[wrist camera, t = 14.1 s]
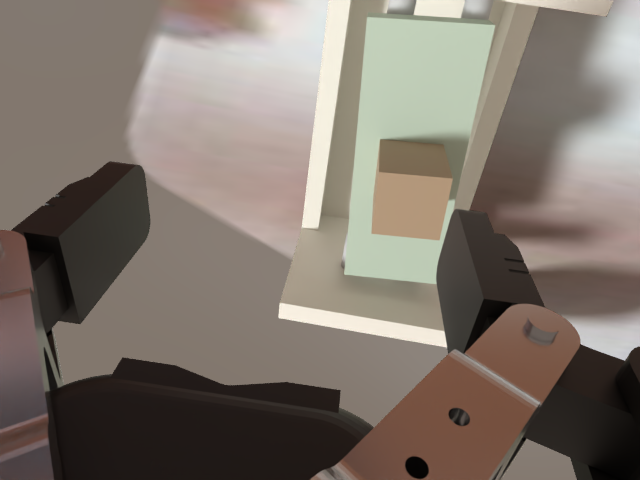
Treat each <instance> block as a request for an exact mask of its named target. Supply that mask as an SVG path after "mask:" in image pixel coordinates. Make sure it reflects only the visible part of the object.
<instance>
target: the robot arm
mask: <svg viewBox="0 0 640 480" xmlns="http://www.w3.org/2000/svg"><path fill="white" fill-rule="evenodd" d="M149 227H150V213H149V205H148V197H147V188H146V181H145V173H144V170H143V168H142V167H141V166H140V165H134V164H126V163H119V162H108V163H107V164H105V165H104V166H103V167H102V168H100V169H99V170H98V171H97V172H96V173H94V174H93V175H92V176H91V177H87V178H84V179H82V180H79V181H77V182H74V183H72V184H69V185H68V186H67V187H65V188H64V189H63V190H61V191H60V192H59V193H58V194H56V197H53V198H51V199H50V200H49V201H48V202H46V203H45V206H41V207H40V208H39V209H37V210H36V211H35V212H34V213H32V214H31V215H30V216H28V217H27V218H26V219H25V220H23V221H22V222H21V223H20V224H18V225H17V226H16V227H15V228H13V229H12V230H0V480H502V478H503V476H504V475H505V473H506V472H507V470H508V469H509V467H510V466H511V464H512V462H513V461H514V459H515V458H516V456H517V455H518V453H519V451H520V450H521V448H522V447H523V445H524V444H525V442H526V441H527V439H529V440H531V441H534V442H536V443H538V444H541V445H543V446H545V447H548V448H550V449H552V450H554V451H557V452H559V453H561V454H564V455H566V456H568V457H570V458H571V461H572V465H573V468H574V472H575V475H576V478H577V480H640V347H637V348H634V349H633V350H632V351H631V353H630V354H629V356H628V357H627V359H626V360H625V361H624V360H621V359H618V358H615V357H613V356H610V355H607V354H604V353H601V352H599V351H596V350H593V349H590V348H588V347H586V346H583V345H581V344H580V337H579V334H578V332H577V331H576V329H575V328H574V327H573V326H572V324H571V323H570V322H568V321H567V320H566V319H565V318H563V317H562V316H561V315H559V314H557V313H555V312H554V311H551V310H549V309H547V308H545V306H544V304H543V302H542V300H541V297H540V295H539V293H538V291H537V289H536V286H535V284H534V282H533V280H532V277H531V275H529V271H528V269H527V266H526V264H525V263H524V260H523V258H522V255H521V253H520V251H519V249H518V247H517V246H516V245H515V244H514V243H513V242H512V241H510V240H509V239H508V238H507V237H506V236H505V235H503V234H496V233H494V231H493V229H492V226H491V224H490V221H489V219H488V216H487V214H486V213H484V212H477V211H469V210H462V209H455V210H454V211H453V213H452V215H451V218H450V222H449V225H448V229H447V232H446V235H445V239H444V242H443V246H442V249H441V253H440V256H439V260H438V265H437V272H436V283H437V289H438V295H439V301H440V307H441V313H442V319H443V325H444V331H445V337H446V343H447V349H448V355H447V356H446V357H445V358H444V359H443V360H442V361H441V362H440V363H439V364H438V365H437V366H436V367H435V368H434V369H433V370H432V371H431V372H430V373H429V374H428V375H427V376H426V377H425V378H424V379H423V380H422V381H421V382H420V383H419V384H418V385H417V386H416V387H415V388H414V389H413V390H412V391H411V392H410V393H409V394H408V395H407V396H405V398H403V399H402V400H401V401H400V403H399V404H398V405H396V407H395V408H393V409H392V410H391V411H390V412H389V413H388V414H387V415H386V416H385V417H384V418H383V419H382V420H381V421H380V422H379V423H378V424H377V425H376V426H375V427H373V426H372V425H370V424H369V423H367V422H366V421H364V420H363V419H361V418H360V417H358V416H356V415H354V414H352V413H350V412H348V411H346V410H344V409H341V408H339V402H340V390H334V389H328V388H321V387H315V386H308V385H302V384H295V383H288V382H281V383H265V384H249V385H233V386H232V385H231V386H230V385H224V384H220V383H218V382H215V381H213V380H210V379H208V378H205V377H203V376H200V375H198V374H195V373H193V372H190V371H188V370H185V369H183V368H180V367H178V366H175V365H168V364H162V363H155V362H149V361H142V360H136V359H129V358H122V359H121V361H120V362H119V364H118V366H117V367H116V369H115V371H114V372H113V374H110V375H101V376H95V377H90V378H86V379H82V380H78V381H75V382H72V383H69V384H66V385H64V382H63V377H62V372H61V367H60V362H59V356H58V351H57V345H56V340H55V336H54V332H53V329H52V327H53V326H54V325H55V324H56V323H57V322H58V321H63V322H69V323H76V324H81V323H82V321H83V320H84V319H85V318H86V316H87V315H88V314H89V312H90V311H91V310H92V309H93V307H94V306H95V305H96V303H97V302H98V301H99V300H100V298H101V297H102V295H103V294H104V293H105V292H106V291H107V289H108V288H109V287H110V285H111V284H112V283H113V282H114V280H115V279H116V278H117V276H118V275H119V274H120V273H121V271H122V270H123V269H124V267H125V266H126V265H127V264H128V262H129V261H130V260H131V258H132V257H133V256H134V255H135V253H136V252H137V251H138V249H139V248H140V247H141V246H142V244H143V243H144V242H145V240H146V238H147V236H148V233H149V229H150V228H149Z"/></svg>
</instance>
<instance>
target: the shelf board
mask: <svg viewBox="0 0 640 480" xmlns="http://www.w3.org/2000/svg"><path fill="white" fill-rule="evenodd" d="M494 29H495V25H494V24H493V23H492V22H491V21H489V20H483V19H467V18H451V17H435V16H419V15H403V14H387V13H371V12H368V15H367V23H366V34H365V46H364V57H363V68H362V79H361V91H360V102H359V113H358V124H357V136H356V147H355V158H354V169H353V181H352V192H351V203H350V214H349V226H348V237H347V248H346V259H345V271H344V275H354V276H363V277H373V278H382V279H391V280H401V281H410V282H420V283H429V284H437V283H436V272H437V265H438V260H439V256H440V253H441V249H442V246H443V242H444V239H445V235H446V232H447V229H448V225H449V222H450V218H451V215H452V213H453V209H454V205H455V200H456V196H457V192H458V187H459V183H460V178H461V174H462V170H463V165H464V161H465V156H466V152H467V148H468V143H469V139H470V134H471V130H472V126H473V121H474V117H475V112H476V108H477V104H478V99H479V95H480V90H481V86H482V82H483V77H484V73H485V69H486V64H487V60H488V55H489V51H490V47H491V42H492V38H493V33H494Z"/></svg>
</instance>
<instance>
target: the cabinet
mask: <svg viewBox="0 0 640 480" xmlns="http://www.w3.org/2000/svg"><path fill="white" fill-rule="evenodd" d="M612 3H613V0H329V3H328V11H327V19H326V28H325V36H324V45H323V53H322V62H321V70H320V79H319V87H318V95H317V104H316V112H315V121H314V129H313V138H312V146H311V154H310V163H309V171H308V180H307V188H306V197H305V205H304V213H303V222H302V229H301V232H300V236H299V239H298V243H297V246H296V249H295V253H294V256H293V260H292V263H291V267H290V270H289V274H288V277H287V281H286V284H285V287H284V291H283V294H282V297H281V301H280V307H279V317H278V318H282V319H288V320H293V321H299V322H306V323H311V324H316V325H322V326H328V327H333V328H339V329H345V330H351V331H356V332H362V333H368V334H374V335H379V336H385V337H391V338H397V339H403V340H408V341H414V342H420V343H425V344H431V345H437V346H442V347H447V343H446V337H445V331H444V325H443V319H442V313H441V307H440V301H439V295H438V289H437V284H429V283H420V282H410V281H401V280H391V279H382V278H373V277H363V276H354V275H344V271H345V259H346V248H347V237H348V226H349V214H350V203H351V192H352V181H353V169H354V158H355V147H356V136H357V124H358V113H359V102H360V91H361V79H362V68H363V57H364V46H365V34H366V23H367V15H368V12H371V13H387V14H403V15H419V16H435V17H451V18H467V19H483V20H489V21H491V22H492V23H493V24H494V25H495V29H494V33H493V38H492V42H491V47H490V51H489V55H488V60H487V64H486V69H485V73H484V77H483V82H482V86H481V90H480V95H479V99H478V104H477V108H476V112H475V117H474V121H473V126H472V130H471V134H470V139H469V143H468V148H467V152H466V156H465V161H464V165H463V170H462V174H461V178H460V183H459V187H458V192H457V196H456V200H455V205H454V209H453V211H454V210H455V209H462V210H469V209H470V206H471V203H472V201H473V198H474V195H475V192H476V189H477V186H478V183H479V180H480V177H481V174H482V172H483V169H484V166H485V163H486V160H487V157H488V154H489V151H490V148H491V145H492V143H493V140H494V137H495V134H496V131H497V128H498V125H499V122H500V119H501V116H502V114H503V111H504V108H505V105H506V102H507V99H508V96H509V93H510V90H511V87H512V85H513V82H514V79H515V76H516V73H517V70H518V67H519V64H520V61H521V58H522V56H523V53H524V50H525V47H526V44H527V41H528V38H529V35H530V32H531V29H532V27H533V24H534V21H535V18H536V15H537V12H538V9H539V7H546V8H552V9H559V10H566V11H573V12H579V13H586V14H593V15H599V16H606V17H607V15H608V12H609V10H610V8H611V5H612Z"/></svg>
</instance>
